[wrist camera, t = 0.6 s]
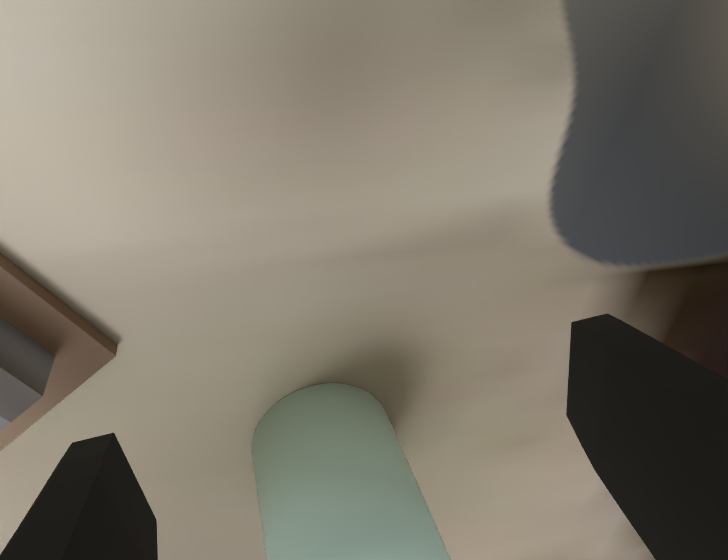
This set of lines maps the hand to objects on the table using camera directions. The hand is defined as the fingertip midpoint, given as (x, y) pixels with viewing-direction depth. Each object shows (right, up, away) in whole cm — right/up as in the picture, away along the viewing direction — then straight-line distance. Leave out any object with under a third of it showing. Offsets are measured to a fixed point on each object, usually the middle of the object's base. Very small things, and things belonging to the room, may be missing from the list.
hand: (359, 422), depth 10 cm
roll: (-1, -4, +14) cm, 15 cm away
